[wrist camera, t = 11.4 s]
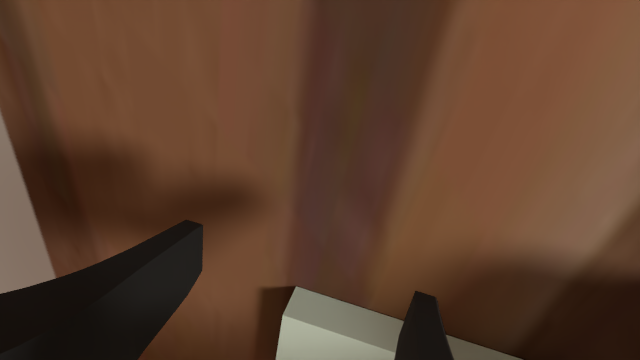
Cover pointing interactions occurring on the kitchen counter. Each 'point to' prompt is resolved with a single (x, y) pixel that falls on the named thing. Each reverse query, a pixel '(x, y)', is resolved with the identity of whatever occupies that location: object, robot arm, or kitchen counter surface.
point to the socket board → (351, 333)
